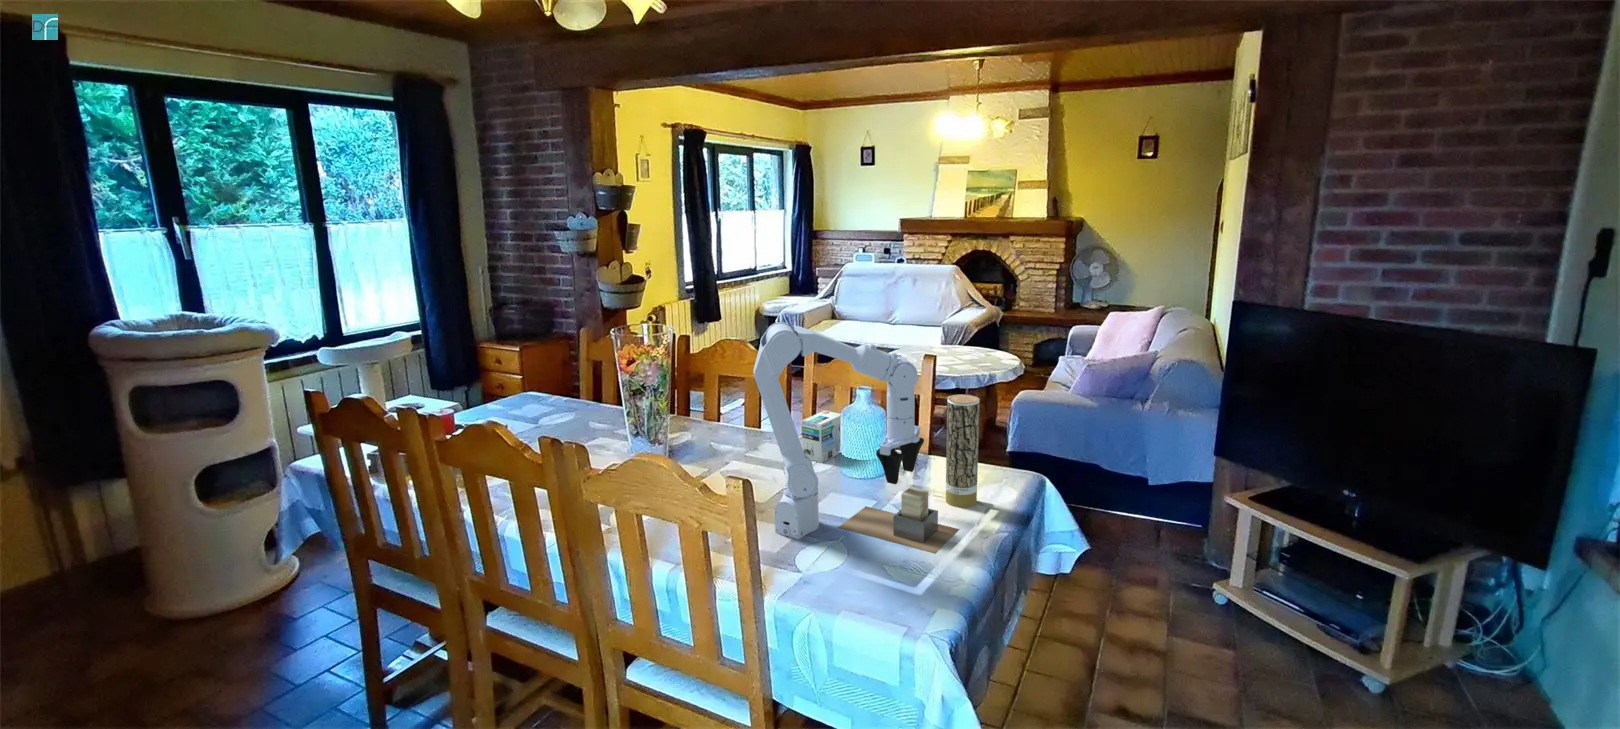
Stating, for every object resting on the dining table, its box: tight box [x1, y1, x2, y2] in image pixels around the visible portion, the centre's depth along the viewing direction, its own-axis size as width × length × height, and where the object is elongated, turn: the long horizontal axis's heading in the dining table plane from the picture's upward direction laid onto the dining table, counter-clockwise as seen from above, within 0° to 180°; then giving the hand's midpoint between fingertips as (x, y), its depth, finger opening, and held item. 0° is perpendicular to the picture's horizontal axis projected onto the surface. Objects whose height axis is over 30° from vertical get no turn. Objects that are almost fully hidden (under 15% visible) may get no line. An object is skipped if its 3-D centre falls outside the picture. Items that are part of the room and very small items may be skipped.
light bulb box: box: [801, 410, 842, 464], centre depth 199 cm, size 11×7×11 cm, turn 143°
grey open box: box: [893, 507, 939, 543], centre depth 151 cm, size 7×7×4 cm
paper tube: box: [945, 394, 980, 509], centre depth 163 cm, size 7×7×25 cm
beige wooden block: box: [901, 486, 929, 521], centre depth 151 cm, size 4×4×8 cm
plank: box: [837, 505, 960, 554], centre depth 154 cm, size 12×22×1 cm, turn 56°
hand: (900, 476), depth 157 cm, fingers open, 7 cm apart
